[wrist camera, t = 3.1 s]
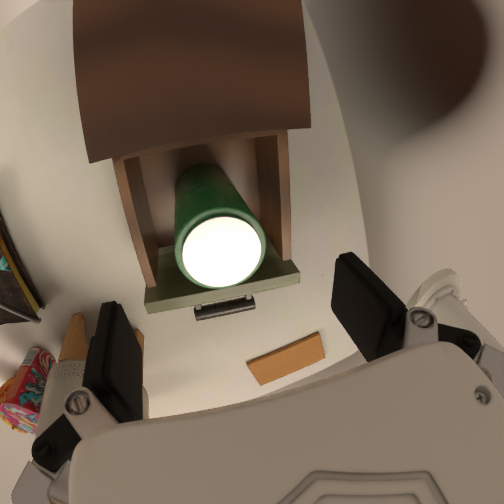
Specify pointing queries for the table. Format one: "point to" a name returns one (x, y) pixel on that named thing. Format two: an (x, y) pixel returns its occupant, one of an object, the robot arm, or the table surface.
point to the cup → (28, 390)
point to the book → (15, 287)
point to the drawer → (162, 216)
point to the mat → (287, 359)
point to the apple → (0, 397)
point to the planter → (72, 374)
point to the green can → (214, 229)
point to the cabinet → (187, 71)
